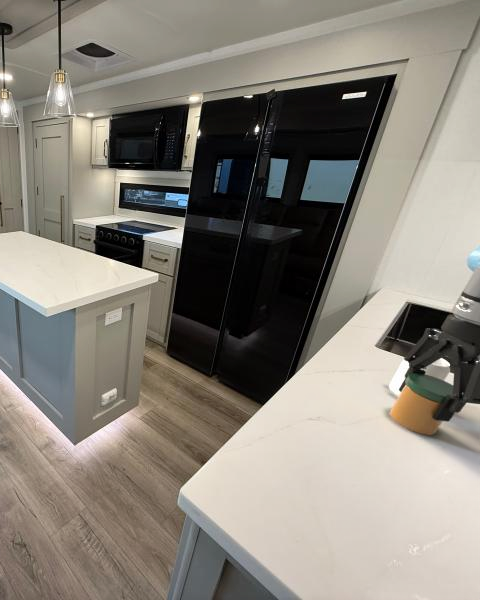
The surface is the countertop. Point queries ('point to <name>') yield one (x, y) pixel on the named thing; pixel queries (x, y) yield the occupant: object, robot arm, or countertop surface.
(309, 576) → the countertop surface
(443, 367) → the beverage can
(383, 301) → the countertop surface
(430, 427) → the jar
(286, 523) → the countertop surface
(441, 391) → the jar lid
